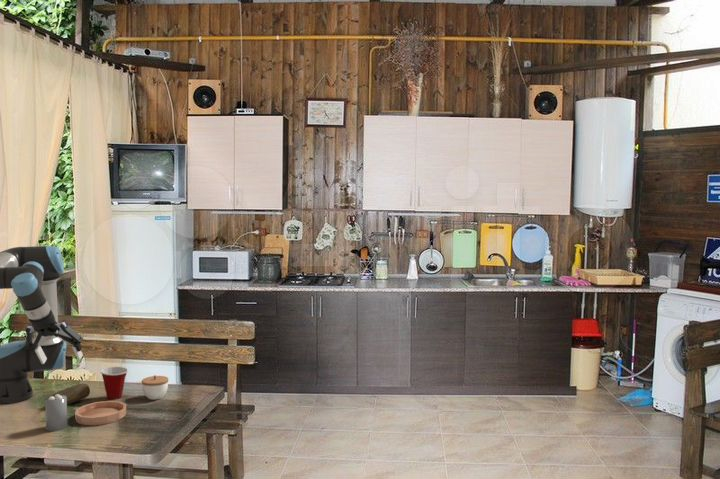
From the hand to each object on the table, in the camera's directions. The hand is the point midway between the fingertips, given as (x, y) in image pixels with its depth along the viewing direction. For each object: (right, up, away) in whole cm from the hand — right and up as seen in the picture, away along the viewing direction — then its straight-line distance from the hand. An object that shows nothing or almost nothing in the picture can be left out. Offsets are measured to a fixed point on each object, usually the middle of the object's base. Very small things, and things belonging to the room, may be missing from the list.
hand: (62, 359), depth 218 cm
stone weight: (-10, -24, +28) cm, 38 cm away
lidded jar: (+22, -23, +35) cm, 47 cm away
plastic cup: (+5, -23, +34) cm, 42 cm away
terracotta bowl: (+9, -25, +12) cm, 29 cm away
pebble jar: (-3, -25, +1) cm, 25 cm away
